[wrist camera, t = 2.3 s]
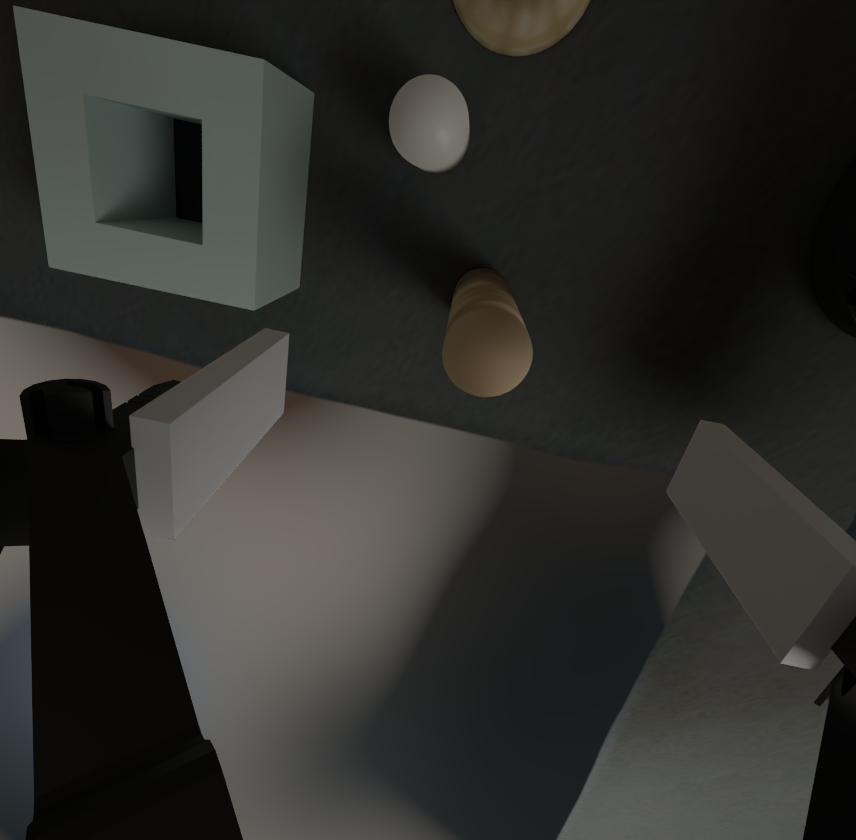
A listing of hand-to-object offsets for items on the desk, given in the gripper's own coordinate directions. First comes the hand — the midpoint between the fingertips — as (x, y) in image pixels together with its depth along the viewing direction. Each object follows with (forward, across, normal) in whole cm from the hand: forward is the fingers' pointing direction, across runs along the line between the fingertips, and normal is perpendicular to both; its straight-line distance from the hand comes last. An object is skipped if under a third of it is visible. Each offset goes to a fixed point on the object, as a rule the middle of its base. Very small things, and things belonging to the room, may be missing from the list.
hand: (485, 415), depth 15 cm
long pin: (+21, 0, 0) cm, 21 cm away
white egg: (+21, +5, -9) cm, 23 cm away
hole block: (+21, +19, -4) cm, 28 cm away
